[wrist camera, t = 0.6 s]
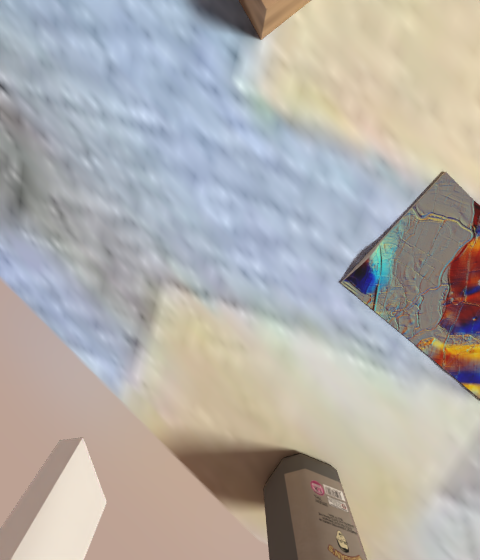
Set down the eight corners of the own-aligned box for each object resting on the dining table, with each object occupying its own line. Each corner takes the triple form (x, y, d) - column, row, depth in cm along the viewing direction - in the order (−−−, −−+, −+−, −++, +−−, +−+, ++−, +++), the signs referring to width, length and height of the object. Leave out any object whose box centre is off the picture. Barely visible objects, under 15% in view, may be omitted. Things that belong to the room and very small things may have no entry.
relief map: (338, 280, 38) (344, 286, 36) (440, 172, 35) (452, 171, 33) (479, 397, 43) (490, 408, 41) (580, 312, 40) (597, 319, 38)
